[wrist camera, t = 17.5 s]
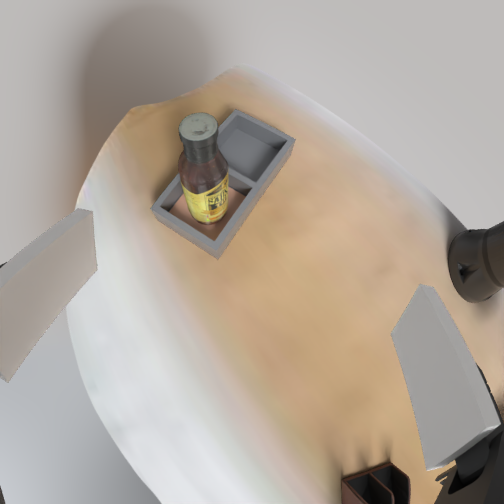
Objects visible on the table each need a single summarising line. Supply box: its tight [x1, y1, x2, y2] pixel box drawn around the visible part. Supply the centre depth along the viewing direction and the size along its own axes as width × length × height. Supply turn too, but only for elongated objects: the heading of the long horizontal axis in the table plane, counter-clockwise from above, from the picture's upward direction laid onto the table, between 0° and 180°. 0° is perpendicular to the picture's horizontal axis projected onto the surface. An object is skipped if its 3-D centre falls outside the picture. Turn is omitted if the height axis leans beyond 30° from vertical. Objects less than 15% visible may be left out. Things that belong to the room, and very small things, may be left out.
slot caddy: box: [150, 109, 296, 259], centre depth 46 cm, size 12×23×5 cm, turn 148°
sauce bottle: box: [178, 113, 229, 225], centre depth 36 cm, size 7×6×20 cm
